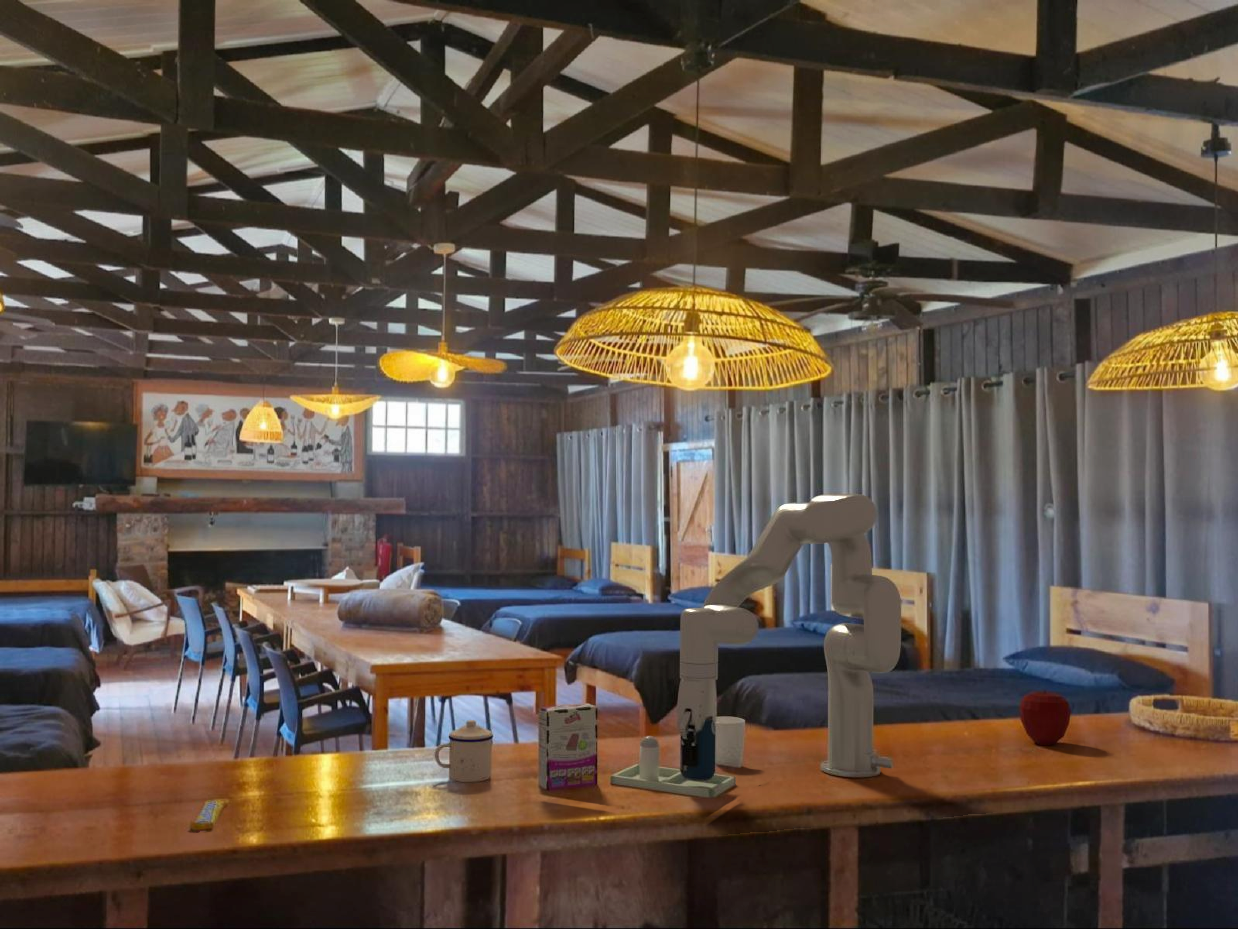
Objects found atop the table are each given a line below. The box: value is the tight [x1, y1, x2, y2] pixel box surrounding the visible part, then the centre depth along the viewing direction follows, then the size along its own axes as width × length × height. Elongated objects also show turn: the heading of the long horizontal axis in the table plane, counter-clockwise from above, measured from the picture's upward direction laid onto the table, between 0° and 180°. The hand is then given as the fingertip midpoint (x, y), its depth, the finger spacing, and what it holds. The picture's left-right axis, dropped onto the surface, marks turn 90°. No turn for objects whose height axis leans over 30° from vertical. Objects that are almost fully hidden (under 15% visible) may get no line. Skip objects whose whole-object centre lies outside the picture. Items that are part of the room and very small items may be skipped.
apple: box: [1019, 688, 1072, 746], centre depth 263 cm, size 12×12×13 cm
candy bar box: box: [538, 702, 598, 791], centre depth 213 cm, size 11×5×16 cm, turn 118°
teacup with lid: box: [434, 719, 494, 783], centre depth 221 cm, size 12×9×12 cm
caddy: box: [609, 763, 736, 799], centre depth 214 cm, size 22×12×2 cm, turn 63°
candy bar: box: [189, 798, 229, 832], centre depth 190 cm, size 17×4×2 cm, turn 12°
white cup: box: [715, 715, 746, 768], centre depth 235 cm, size 8×8×10 cm
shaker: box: [638, 735, 660, 781], centre depth 217 cm, size 4×4×9 cm
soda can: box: [679, 717, 716, 781], centre depth 212 cm, size 7×7×12 cm
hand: (697, 761), depth 212 cm, fingers closed on soda can, 6 cm apart
